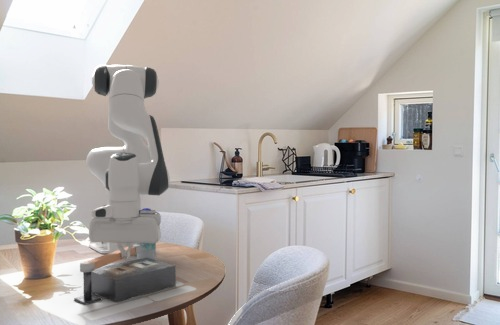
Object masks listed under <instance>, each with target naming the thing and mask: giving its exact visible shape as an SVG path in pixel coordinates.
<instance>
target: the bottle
mask: <svg viewBox="0 0 500 325" xmlns="http://www.w3.org/2000/svg"><path fill="white" fill-rule="evenodd" d="M141 210H149V211H151V210H152V209H151V208H147V207H146V208H142V209H141ZM156 244H157V243H137V245H141V253H139V254H136V260H137V259H142V258H150V259H154V260H157V248H156V247H157V246H156Z"/></svg>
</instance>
